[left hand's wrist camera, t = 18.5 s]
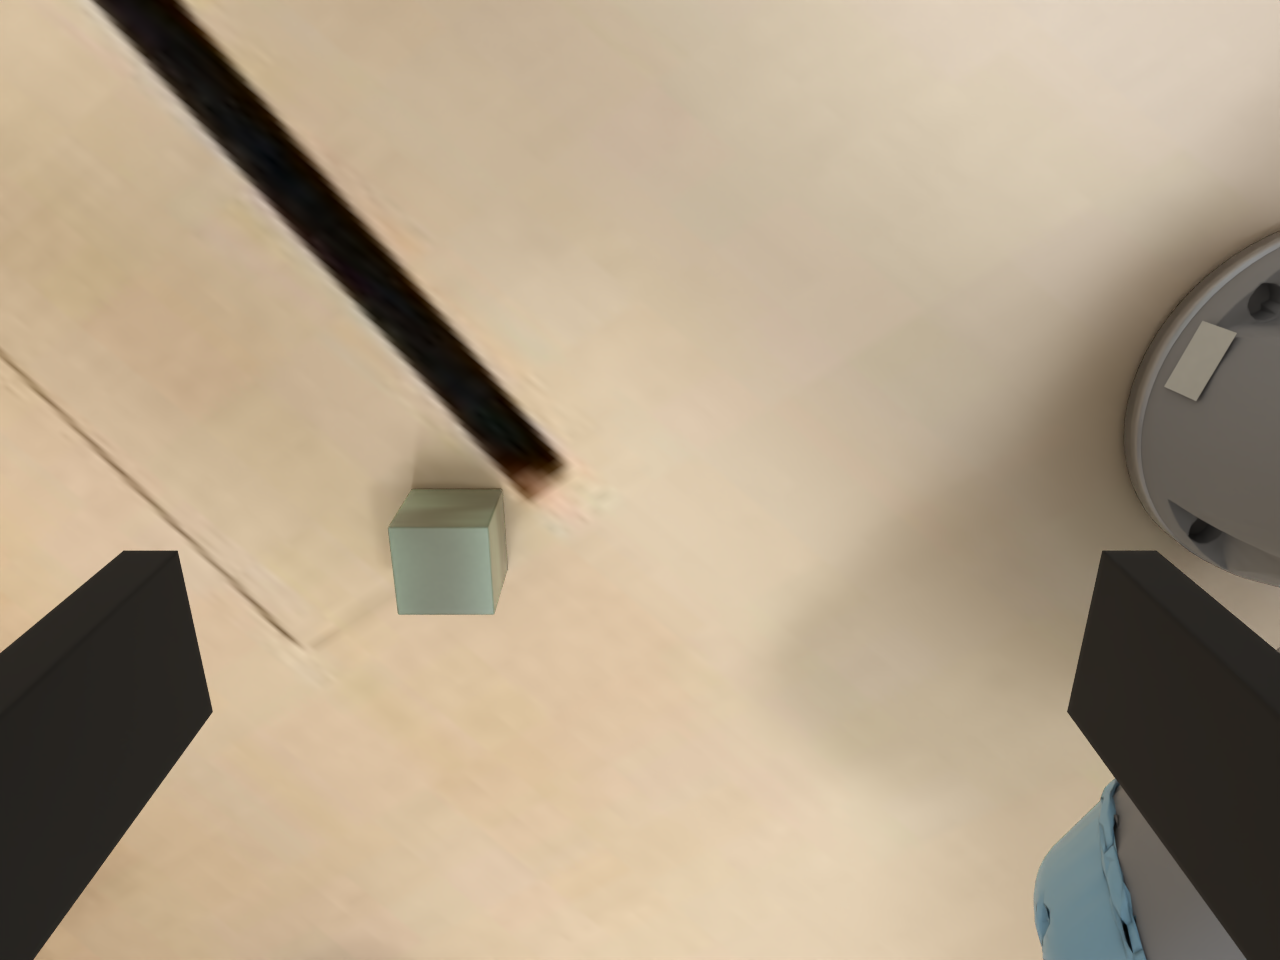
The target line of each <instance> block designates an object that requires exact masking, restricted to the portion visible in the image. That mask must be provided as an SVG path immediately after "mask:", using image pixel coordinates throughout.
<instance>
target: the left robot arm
mask: <svg viewBox="0 0 1280 960" xmlns="http://www.w3.org/2000/svg"><path fill="white" fill-rule="evenodd" d="M1124 447H1125V457H1126V463H1127V468H1128V472H1129V475H1130V479H1131V482H1132V485H1133V487H1134V489H1135V492H1136V494H1137V496H1138V498H1139V500H1140V501H1141V503H1142V505H1143V507H1144V508H1145V510H1146V511H1147V512H1148V514H1149V515H1150V516H1151V518H1152V519H1153V520H1154V521H1155V522H1156V523H1157V524H1158V525H1159V526H1160V527H1161V528H1162V529H1163V530H1164V531H1165V532H1166V533H1167V534H1169V535H1170V536H1171V537H1172V538H1174V539H1175V540H1176V541H1177V542H1179V543H1180V544H1181V545H1183V546H1184V547H1185V548H1186V549H1188V550H1189V551H1190V552H1192V553H1193V554H1195V555H1197V556H1198V557H1200V558H1201V559H1203V560H1205V561H1207V562H1209V563H1211V564H1213V565H1215V566H1217V567H1219V568H1221V569H1223V570H1225V571H1228V572H1230V573H1232V574H1234V575H1237V576H1240V577H1243V578H1246V579H1250V580H1254V581H1258V582H1261V583H1265V584H1269V585H1273V586H1277V587H1280V231H1279V232H1277V233H1274V234H1272V235H1270V236H1267V237H1265V238H1264V239H1262V240H1260V241H1258V242H1256V243H1254V244H1252V245H1250V246H1249V247H1247V248H1245V249H1244V250H1242V251H1241V252H1239V253H1237V254H1236V255H1234V256H1233V257H1231V258H1230V259H1228V260H1227V261H1226V262H1224V263H1223V264H1222V265H1220V266H1219V267H1218V268H1216V269H1215V270H1214V271H1212V272H1211V273H1210V274H1209V275H1208V276H1207V277H1206V278H1204V279H1203V280H1202V281H1201V282H1200V283H1199V284H1198V285H1197V286H1196V287H1195V288H1194V289H1193V290H1192V291H1191V292H1190V293H1189V294H1188V295H1187V296H1186V297H1185V298H1184V299H1183V300H1182V301H1181V302H1180V303H1179V305H1178V306H1177V307H1176V308H1175V309H1174V311H1173V312H1172V313H1171V314H1170V316H1169V317H1168V318H1167V320H1166V321H1165V322H1164V324H1163V325H1162V327H1161V328H1160V330H1159V331H1158V332H1157V334H1156V336H1155V337H1154V339H1153V341H1152V343H1151V344H1150V346H1149V348H1148V349H1147V351H1146V353H1145V356H1144V358H1143V360H1142V362H1141V364H1140V366H1139V368H1138V371H1137V374H1136V377H1135V379H1134V382H1133V385H1132V388H1131V392H1130V396H1129V400H1128V404H1127V410H1126V416H1125V427H1124ZM212 712H213V711H212V706H211V702H210V697H209V692H208V688H207V683H206V679H205V674H204V669H203V665H202V660H201V656H200V651H199V647H198V642H197V637H196V633H195V628H194V624H193V619H192V614H191V610H190V605H189V601H188V596H187V591H186V587H185V582H184V578H183V573H182V568H181V564H180V559H179V555H178V551H123V552H122V553H120V554H119V555H118V556H117V557H116V558H114V559H113V560H112V561H111V562H110V563H108V564H107V565H106V566H105V567H104V568H102V569H101V570H100V571H99V572H98V573H96V574H95V575H94V576H93V577H91V578H90V579H89V580H88V581H87V582H85V583H84V584H83V585H82V586H81V587H79V588H78V589H77V590H76V591H75V592H73V593H72V594H71V595H70V596H69V597H67V598H66V599H65V600H64V601H63V602H61V603H60V604H59V605H58V606H57V607H55V608H54V609H53V610H52V611H51V612H49V613H48V614H47V615H46V616H45V617H43V618H42V619H41V620H40V621H39V622H37V623H36V624H35V625H34V626H33V627H31V628H30V629H29V630H28V631H27V632H25V633H24V634H23V635H22V636H21V637H19V638H18V639H17V640H16V641H14V642H13V643H12V644H11V645H10V646H8V647H7V648H6V649H5V650H4V651H2V652H1V653H0V960H33V959H34V958H35V957H36V955H37V954H38V952H39V951H40V950H41V948H42V947H43V946H44V944H45V943H46V941H47V940H48V939H49V937H50V936H51V934H52V933H53V932H54V930H55V929H56V928H57V926H58V925H59V923H60V922H61V921H62V919H63V918H64V917H65V915H66V914H67V912H68V911H69V910H70V908H71V907H72V905H73V904H74V903H75V901H76V900H77V899H78V897H79V896H80V894H81V893H82V892H83V890H84V889H85V888H86V886H87V885H88V883H89V882H90V881H91V879H92V878H93V876H94V875H95V874H96V872H97V871H98V870H99V868H100V867H101V865H102V864H103V863H104V861H105V860H106V859H107V857H108V856H109V854H110V853H111V852H112V850H113V849H114V847H115V846H116V845H117V843H118V842H119V841H120V839H121V838H122V836H123V835H124V834H125V832H126V831H127V830H128V828H129V827H130V825H131V824H132V823H133V821H134V820H135V818H136V817H137V816H138V814H139V813H140V812H141V810H142V809H143V807H144V806H145V805H146V803H147V802H148V801H149V799H150V798H151V796H152V795H153V794H154V792H155V791H156V789H157V788H158V787H159V785H160V784H161V783H162V781H163V780H164V778H165V777H166V776H167V774H168V773H169V772H170V770H171V769H172V767H173V766H174V765H175V763H176V762H177V760H178V759H179V758H180V756H181V755H182V754H183V752H184V751H185V749H186V748H187V747H188V745H189V744H190V742H191V741H192V740H193V738H194V737H195V736H196V734H197V733H198V731H199V730H200V729H201V727H202V726H203V725H204V723H205V722H206V720H207V719H208V718H209V716H210V715H211V713H212ZM1067 712H1068V713H1069V715H1070V716H1071V718H1072V719H1073V720H1074V722H1075V723H1076V725H1077V726H1078V727H1079V729H1080V730H1081V731H1082V733H1083V734H1084V736H1085V737H1086V738H1087V740H1088V741H1089V742H1090V744H1091V745H1092V747H1093V748H1094V749H1095V751H1096V752H1097V754H1098V755H1099V756H1100V758H1101V759H1102V760H1103V762H1104V763H1105V765H1106V766H1107V767H1108V769H1109V770H1110V772H1111V773H1112V774H1113V776H1114V777H1115V779H1114V780H1112V781H1111V782H1110V783H1109V784H1108V785H1107V786H1106V787H1105V788H1104V791H1103V793H1102V796H1101V800H1100V801H1099V802H1098V803H1097V804H1096V805H1095V806H1094V807H1093V808H1092V809H1091V810H1090V811H1089V812H1088V813H1087V814H1086V815H1085V816H1084V817H1083V818H1082V819H1081V820H1080V821H1079V822H1078V823H1077V824H1076V825H1075V826H1074V827H1073V828H1072V829H1070V830H1069V831H1068V832H1067V833H1066V834H1065V835H1064V836H1063V837H1062V838H1061V839H1060V840H1059V841H1058V842H1057V843H1056V844H1055V845H1054V846H1053V847H1052V848H1051V850H1050V851H1049V852H1048V854H1047V855H1046V856H1045V858H1044V860H1043V861H1042V863H1041V866H1040V868H1039V870H1038V874H1037V878H1036V882H1035V889H1034V914H1035V924H1036V929H1037V932H1038V936H1039V939H1040V943H1041V946H1042V952H1043V960H1280V648H1278V649H1277V650H1275V649H1274V648H1273V647H1272V646H1270V645H1269V644H1268V643H1267V642H1266V641H1264V640H1263V639H1262V638H1261V637H1259V636H1258V635H1257V634H1256V633H1255V632H1253V631H1252V630H1251V629H1250V628H1249V627H1247V626H1246V625H1245V624H1244V623H1243V622H1241V621H1240V620H1239V619H1238V618H1237V617H1235V616H1234V615H1233V614H1232V613H1231V612H1229V611H1228V610H1227V609H1226V608H1225V607H1223V606H1222V605H1221V604H1220V603H1219V602H1217V601H1216V600H1215V599H1214V598H1213V597H1211V596H1210V595H1209V594H1208V593H1207V592H1205V591H1204V590H1203V589H1202V588H1201V587H1199V586H1198V585H1197V584H1196V583H1195V582H1193V581H1192V580H1191V579H1190V578H1189V577H1187V576H1186V575H1185V574H1184V573H1182V572H1181V571H1180V570H1179V569H1178V568H1176V567H1175V566H1174V565H1173V564H1172V563H1170V562H1169V561H1168V560H1167V559H1166V558H1164V557H1163V556H1162V555H1161V554H1160V553H1158V552H1157V551H1102V555H1101V559H1100V564H1099V568H1098V573H1097V578H1096V582H1095V587H1094V591H1093V596H1092V601H1091V605H1090V610H1089V614H1088V619H1087V624H1086V628H1085V633H1084V637H1083V642H1082V647H1081V651H1080V656H1079V660H1078V665H1077V669H1076V674H1075V679H1074V683H1073V688H1072V692H1071V697H1070V702H1069V706H1068V711H1067Z"/></svg>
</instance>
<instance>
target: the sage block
mask: <svg viewBox="0 0 1280 960" xmlns="http://www.w3.org/2000/svg"><path fill="white" fill-rule="evenodd" d="M388 533H389V542H390V550H391V559H392V567H393V576H394V584H395V593H396V601H397V610H398V614H399V615H493V614H494V613H495V610H496V607H497V604H498V600H499V597H500V593H501V590H502V587H503V583H504V580H505V576H506V573H507V570H508V567H507V551H506V535H505V519H504V503H503V490H502V489H412V490H411V491H410V493H409V495H408V496H407V498H406V499H405V501H404V503H403V504H402V506H401V507H400V509H399V511H398V512H397V514H396V515H395V517H394V519H393V520H392V522H391V523H390V525H389V527H388Z"/></svg>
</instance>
